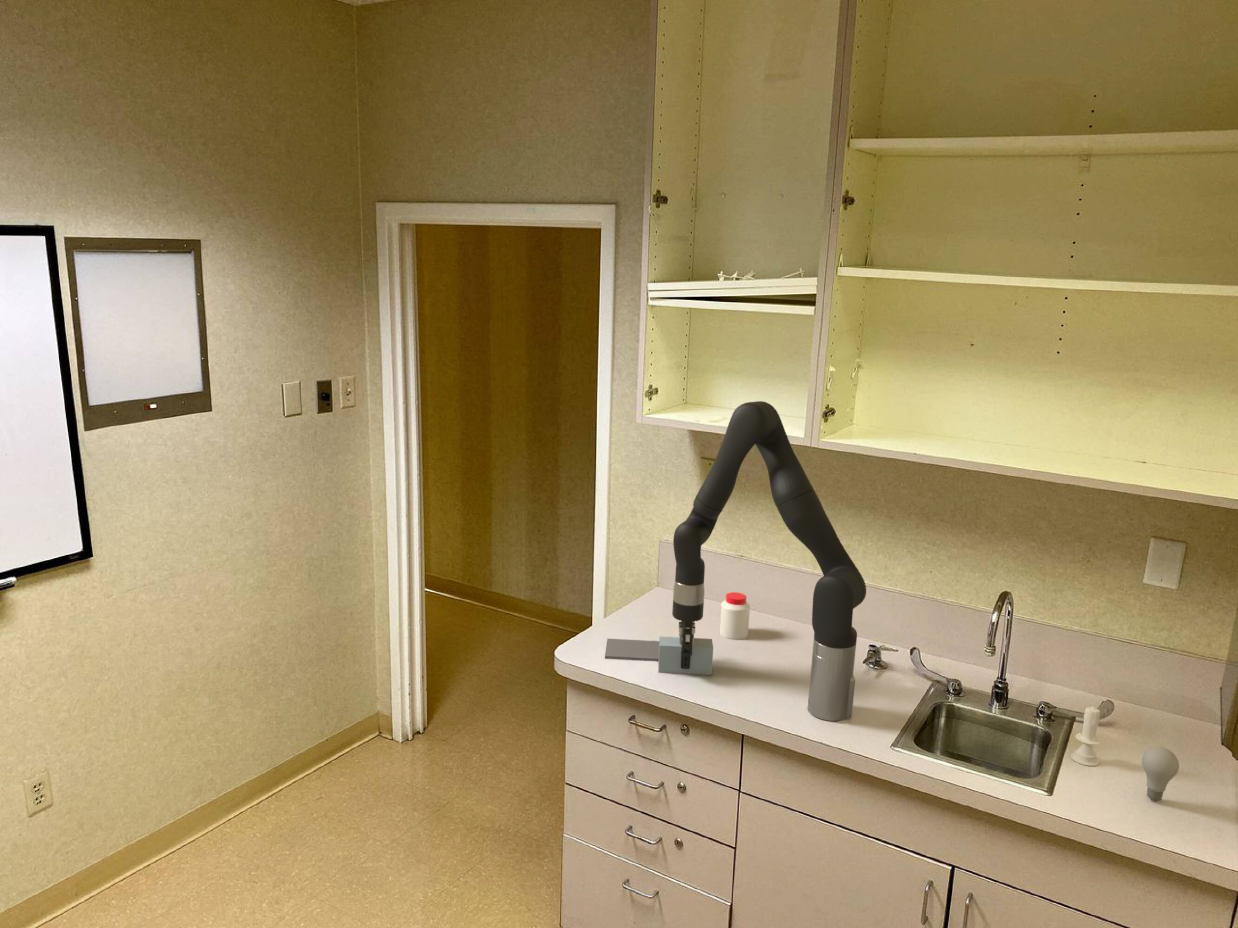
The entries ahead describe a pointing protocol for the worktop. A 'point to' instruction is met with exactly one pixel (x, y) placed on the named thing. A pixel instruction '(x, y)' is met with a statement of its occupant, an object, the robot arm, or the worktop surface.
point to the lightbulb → (1159, 770)
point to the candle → (1088, 738)
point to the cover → (672, 656)
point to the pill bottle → (734, 616)
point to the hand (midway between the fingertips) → (684, 662)
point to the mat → (632, 649)
